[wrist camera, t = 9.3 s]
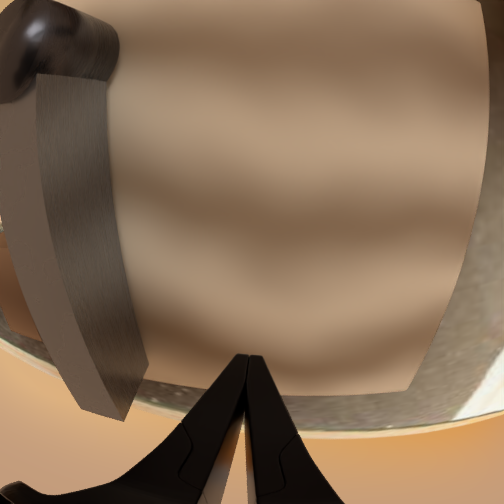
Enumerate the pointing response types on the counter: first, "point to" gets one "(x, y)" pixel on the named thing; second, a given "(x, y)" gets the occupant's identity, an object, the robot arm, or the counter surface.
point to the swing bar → (66, 199)
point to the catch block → (14, 296)
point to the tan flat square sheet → (294, 181)
